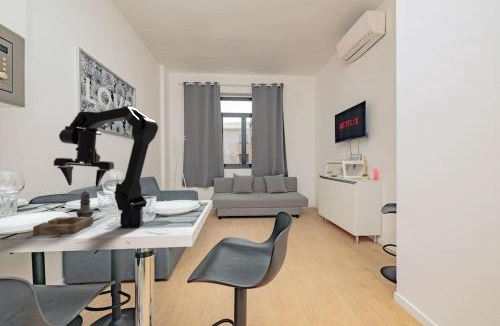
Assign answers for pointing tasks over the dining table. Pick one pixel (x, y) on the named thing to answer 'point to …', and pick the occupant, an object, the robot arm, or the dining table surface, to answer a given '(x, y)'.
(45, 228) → the wooden tray
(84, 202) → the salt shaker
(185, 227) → the dining table surface
